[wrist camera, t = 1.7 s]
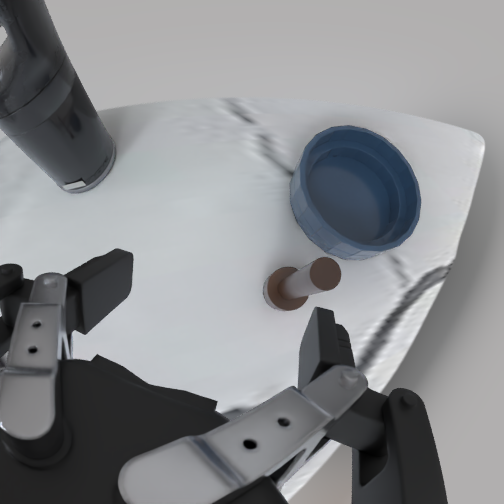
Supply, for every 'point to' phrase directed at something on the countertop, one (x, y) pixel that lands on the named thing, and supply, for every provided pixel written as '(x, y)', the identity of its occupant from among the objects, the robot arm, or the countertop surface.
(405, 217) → the mixing bowl
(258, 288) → the countertop surface
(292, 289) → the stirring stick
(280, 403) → the robot arm
